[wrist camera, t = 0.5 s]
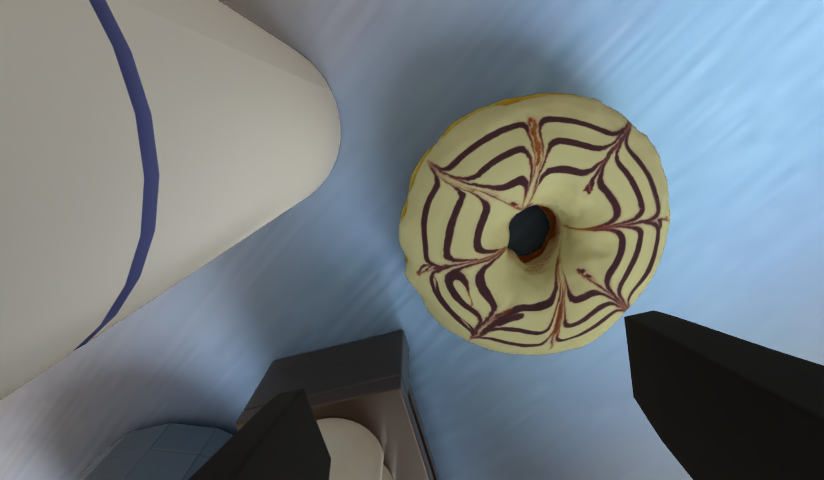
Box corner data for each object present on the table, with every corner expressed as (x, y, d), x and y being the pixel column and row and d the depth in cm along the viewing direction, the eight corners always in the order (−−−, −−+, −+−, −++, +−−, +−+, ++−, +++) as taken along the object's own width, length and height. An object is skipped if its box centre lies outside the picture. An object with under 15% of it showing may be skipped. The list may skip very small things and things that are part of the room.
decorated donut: (426, 341, 20) (428, 390, 16) (380, 126, 17) (370, 126, 13) (635, 306, 19) (687, 349, 15) (625, 75, 16) (687, 60, 12)
